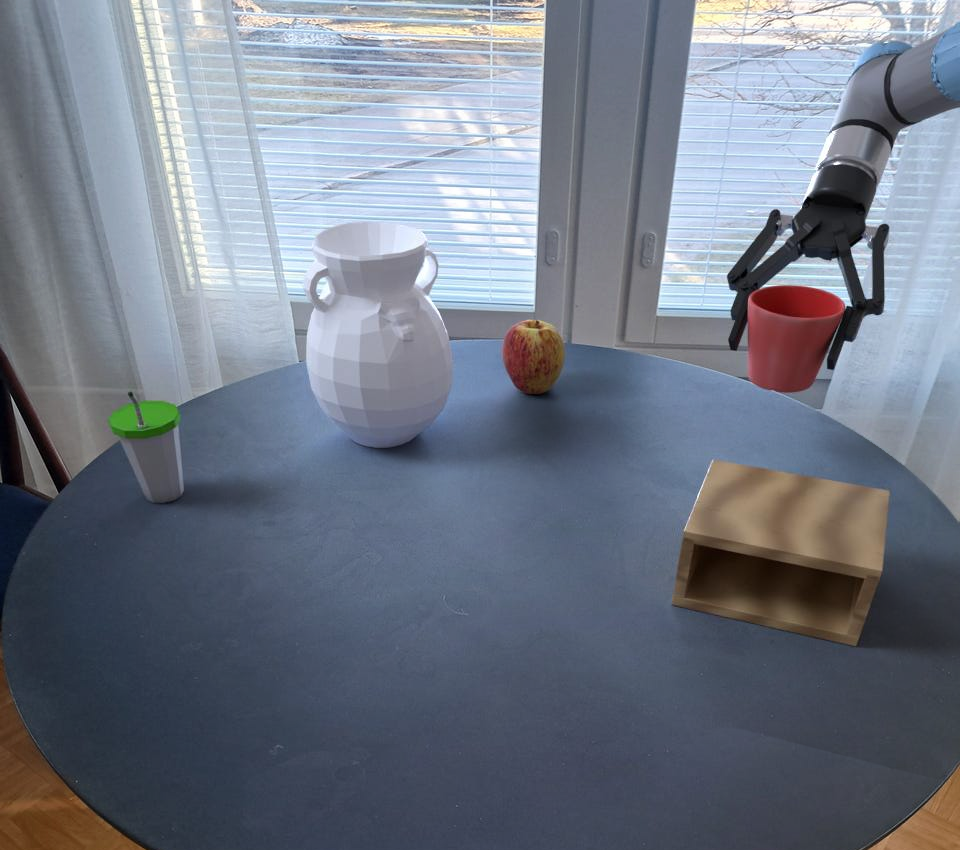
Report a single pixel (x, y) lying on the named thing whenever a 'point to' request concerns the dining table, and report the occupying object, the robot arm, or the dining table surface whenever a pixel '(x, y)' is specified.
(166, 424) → the cup
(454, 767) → the dining table surface
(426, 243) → the white handled vase
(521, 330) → the apple
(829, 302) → the flower pot
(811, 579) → the cubby shelf
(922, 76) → the robot arm
